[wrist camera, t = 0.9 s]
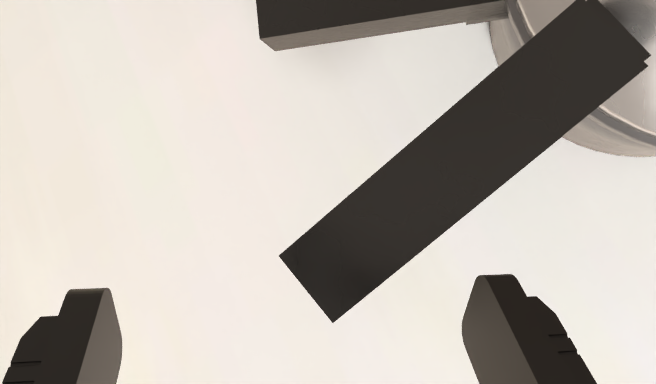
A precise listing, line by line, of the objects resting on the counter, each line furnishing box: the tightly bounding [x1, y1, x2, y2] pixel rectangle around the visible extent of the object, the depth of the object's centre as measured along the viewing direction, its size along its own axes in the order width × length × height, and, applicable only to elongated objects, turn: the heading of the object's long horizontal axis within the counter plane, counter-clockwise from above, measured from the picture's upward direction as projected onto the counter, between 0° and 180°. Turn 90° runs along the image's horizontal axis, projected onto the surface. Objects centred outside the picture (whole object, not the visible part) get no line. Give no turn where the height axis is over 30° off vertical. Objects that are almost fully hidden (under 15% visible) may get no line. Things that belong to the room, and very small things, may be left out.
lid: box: [279, 0, 656, 323], centre depth 19 cm, size 31×19×6 cm, turn 131°
